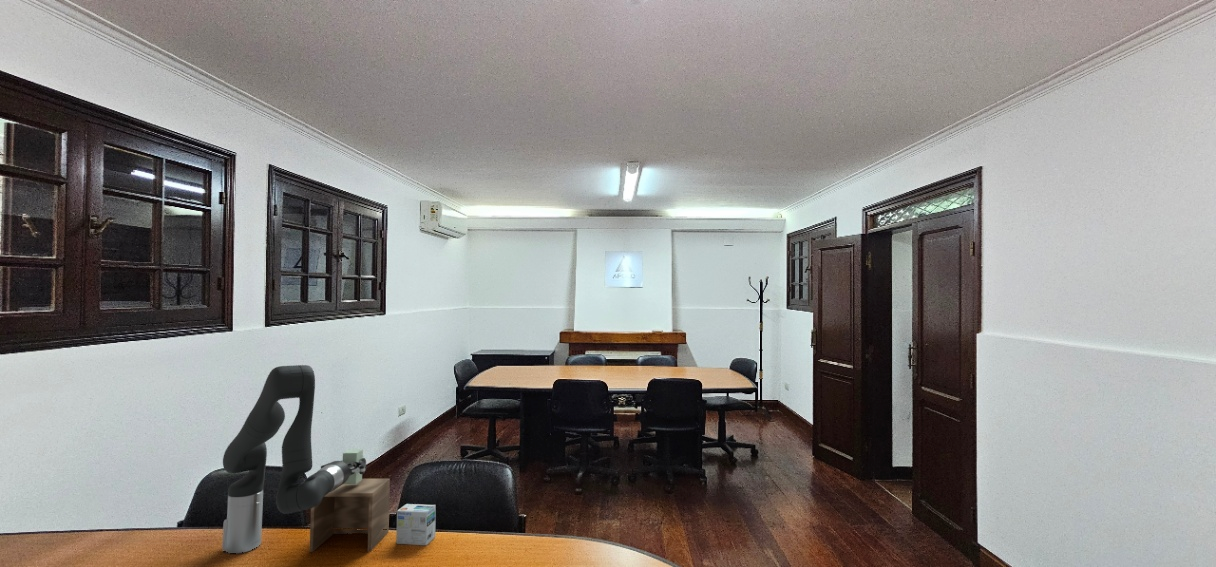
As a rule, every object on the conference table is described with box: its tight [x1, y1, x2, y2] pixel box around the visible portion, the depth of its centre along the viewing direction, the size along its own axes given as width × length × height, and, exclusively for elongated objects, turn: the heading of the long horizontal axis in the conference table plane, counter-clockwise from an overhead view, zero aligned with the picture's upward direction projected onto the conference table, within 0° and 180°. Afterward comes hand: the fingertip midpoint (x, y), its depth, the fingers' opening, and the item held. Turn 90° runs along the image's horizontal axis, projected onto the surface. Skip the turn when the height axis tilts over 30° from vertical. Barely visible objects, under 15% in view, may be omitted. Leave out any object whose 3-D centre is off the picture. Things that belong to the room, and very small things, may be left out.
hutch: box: [308, 478, 391, 553], centre depth 168 cm, size 19×14×18 cm
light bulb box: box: [395, 503, 437, 546], centre depth 169 cm, size 11×7×11 cm, turn 84°
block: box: [342, 448, 364, 484], centre depth 168 cm, size 4×4×10 cm
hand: (356, 461), depth 171 cm, fingers closed on block, 4 cm apart
